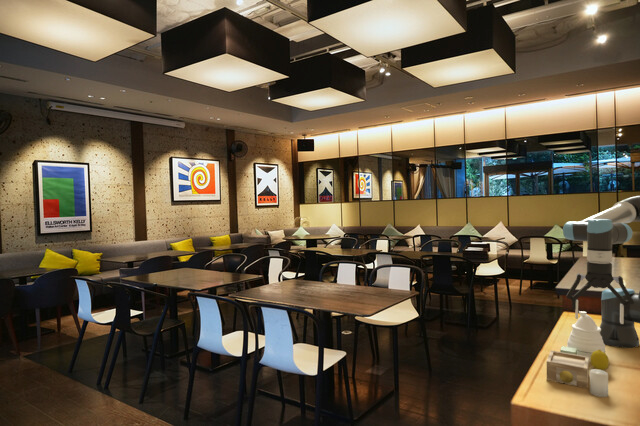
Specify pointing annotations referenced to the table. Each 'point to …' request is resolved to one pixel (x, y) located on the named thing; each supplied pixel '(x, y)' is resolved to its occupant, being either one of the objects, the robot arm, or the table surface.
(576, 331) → the honey pot
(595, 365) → the lemon
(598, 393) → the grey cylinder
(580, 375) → the wooden crate
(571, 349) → the sage cube
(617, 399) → the table surface
